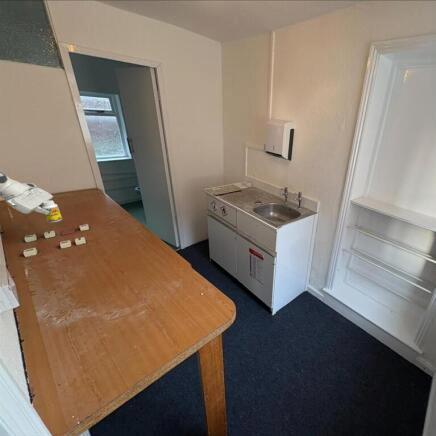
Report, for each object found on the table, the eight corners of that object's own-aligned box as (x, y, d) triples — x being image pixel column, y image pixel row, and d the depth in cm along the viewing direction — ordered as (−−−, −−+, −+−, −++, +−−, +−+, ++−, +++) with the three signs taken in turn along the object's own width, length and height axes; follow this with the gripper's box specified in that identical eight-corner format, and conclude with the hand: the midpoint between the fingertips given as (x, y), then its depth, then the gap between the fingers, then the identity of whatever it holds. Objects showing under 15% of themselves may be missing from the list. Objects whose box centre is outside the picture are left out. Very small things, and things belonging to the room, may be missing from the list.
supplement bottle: (47, 224, 112) (39, 204, 108) (46, 220, 115) (38, 201, 111) (63, 221, 116) (56, 201, 112) (62, 217, 119) (54, 198, 115)
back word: (25, 242, 115) (24, 239, 114) (26, 239, 119) (25, 235, 118) (89, 229, 131) (88, 226, 130) (88, 226, 134) (87, 223, 133)
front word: (25, 257, 104) (23, 252, 104) (26, 253, 107) (24, 249, 106) (85, 242, 118) (84, 239, 117) (85, 240, 120) (84, 236, 119)
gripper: (6, 194, 98) (45, 213, 105) (34, 182, 115) (66, 199, 122) (-3, 205, 98) (36, 223, 105) (26, 191, 115) (58, 208, 122)
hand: (52, 210), depth 114 cm, fingers closed on supplement bottle, 5 cm apart
